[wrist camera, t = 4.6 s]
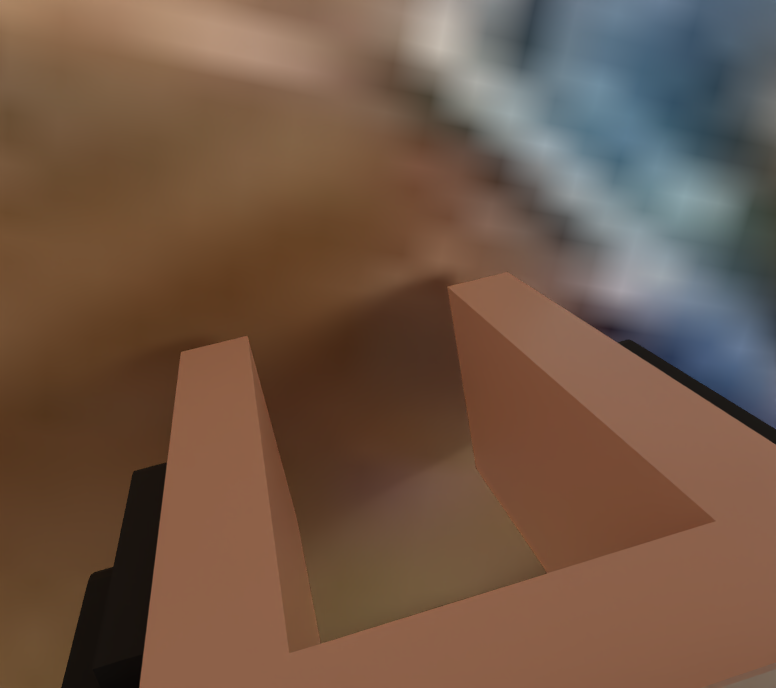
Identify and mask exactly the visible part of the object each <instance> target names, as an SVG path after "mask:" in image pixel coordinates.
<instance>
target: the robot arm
mask: <svg viewBox="0 0 776 688" xmlns="http://www.w3.org/2000/svg"><path fill="white" fill-rule="evenodd" d="M618 343H619V344H620V345H622V346H623V347H625V348H626V349H628V350H629V351H631V352H633V353H634V354H636V355H637V356H639V357H640V358H642V359H643V360H645V361H647V362H648V363H650V364H651V365H653V366H654V367H656V368H657V369H659V370H661V371H662V372H664V373H665V374H667V375H668V376H670V377H671V378H673V379H674V380H676V381H678V382H679V383H681V384H682V385H684V386H685V387H687V388H688V389H690V390H692V391H693V392H695V393H696V394H698V395H699V396H701V397H702V398H704V399H706V400H707V401H709V402H710V403H712V404H713V405H715V406H716V407H718V408H720V409H721V410H723V411H724V412H726V413H727V414H729V415H730V416H732V417H734V418H735V419H737V420H738V421H740V422H741V423H743V424H744V425H746V426H748V427H749V428H751V429H752V430H754V431H755V432H757V433H758V434H760V435H762V436H763V437H765V438H766V439H768V440H769V441H771V442H772V443H774V444H775V445H776V429H774V428H773V427H771V426H769V425H768V424H766V423H764V422H763V421H761V420H760V419H758V418H756V417H755V416H753V415H752V414H750V413H748V412H747V411H745V410H743V409H742V408H740V407H739V406H737V405H735V404H734V403H732V402H730V401H729V400H727V399H726V398H724V397H722V396H721V395H719V394H718V393H716V392H714V391H713V390H711V389H709V388H708V387H706V386H705V385H703V384H701V383H700V382H698V381H696V380H695V379H693V378H692V377H690V376H688V375H687V374H685V373H684V372H682V371H680V370H679V369H677V368H675V367H674V366H672V365H671V364H669V363H667V362H666V361H664V360H663V359H661V358H659V357H658V356H656V355H654V354H653V353H651V352H650V351H648V350H646V349H645V348H643V347H641V346H640V345H638V344H637V343H635V342H633V341H631V340H625V341H621V342H618ZM166 468H167V463H163V464H159V465H155V466H152V467H148V468H144V469H140V470H137V471H134V472H133V475H132V480H131V485H130V489H129V494H128V499H127V504H126V509H125V514H124V518H123V523H122V528H121V533H120V538H119V543H118V548H117V552H116V557H115V562H114V567H111V568H108V569H104V570H101V571H97V572H94V573H93V574H91V576H90V578H89V581H88V584H87V588H86V592H85V596H84V600H83V604H82V608H81V612H80V616H79V620H78V624H77V628H76V632H75V636H74V640H73V644H72V648H71V652H70V656H69V660H68V664H67V668H66V672H65V676H64V680H63V684H62V687H61V688H139V686H140V678H141V670H142V662H143V654H144V645H145V637H146V629H147V621H148V613H149V605H150V597H151V589H152V581H153V573H154V565H155V557H156V549H157V541H158V533H159V525H160V516H161V508H162V500H163V492H164V484H165V476H166ZM702 688H776V663H773V664H770V665H767V666H764V667H761V668H758V669H755V670H752V671H749V672H746V673H743V674H740V675H737V676H734V677H732V678H729V679H726V680H723V681H720V682H717V683H714V684H711V685H708V686H705V687H702Z"/></svg>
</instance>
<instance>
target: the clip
mask: <svg viewBox="0 0 776 688" xmlns="http://www.w3.org/2000/svg"><path fill="white" fill-rule="evenodd" d="M447 288H448V294H449V300H450V307H451V313H452V319H453V326H454V332H455V338H456V345H457V351H458V357H459V364H460V370H461V376H462V383H463V389H464V396H465V402H466V408H467V415H468V421H469V427H470V434H471V440H472V446H473V453H474V459H475V465H476V469H477V470H478V472H479V473H480V475H481V476H482V478H483V479H484V481H485V482H486V484H487V485H488V487H489V488H490V489H491V491H492V492H493V494H494V495H495V497H496V498H497V500H498V501H499V503H500V504H501V506H502V507H503V509H504V510H505V512H506V513H507V514H508V516H509V517H510V519H511V520H512V522H513V523H514V525H515V526H516V528H517V529H518V531H519V532H520V534H521V535H522V537H523V538H524V539H525V541H526V542H527V544H528V545H529V547H530V548H531V550H532V551H533V553H534V554H535V556H536V557H537V559H538V560H539V562H540V563H541V564H542V566H543V567H544V569H545V570H546V572H547V574H544V575H541V576H537V577H534V578H531V579H528V580H524V581H521V582H518V583H515V584H512V585H508V586H505V587H502V588H499V589H495V590H492V591H489V592H486V593H483V594H479V595H476V596H473V597H470V598H466V599H463V600H460V601H457V602H453V603H450V604H447V605H444V606H441V607H437V608H434V609H431V610H428V611H424V612H421V613H418V614H415V615H412V616H408V617H405V618H402V619H399V620H395V621H392V622H389V623H386V624H383V625H379V626H376V627H373V628H370V629H366V630H363V631H360V632H357V633H353V634H350V635H347V636H344V637H341V638H337V639H334V640H331V641H328V642H324V643H321V642H320V637H319V631H318V626H317V621H316V616H315V610H314V605H313V600H312V595H311V589H310V584H309V579H308V574H307V568H306V563H305V558H304V553H303V547H302V542H301V537H300V532H299V526H298V521H297V517H296V513H295V509H294V506H293V502H292V498H291V495H290V491H289V487H288V484H287V480H286V476H285V472H284V469H283V465H282V461H281V458H280V454H279V450H278V447H277V443H276V439H275V436H274V432H273V428H272V424H271V421H270V417H269V413H268V410H267V406H266V402H265V399H264V395H263V391H262V388H261V384H260V380H259V377H258V373H257V369H256V365H255V362H254V358H253V354H252V351H251V347H250V343H249V340H248V336H244V337H240V338H236V339H232V340H228V341H224V342H220V343H216V344H212V345H207V346H203V347H199V348H195V349H191V350H187V351H183V352H181V355H180V363H179V371H178V379H177V387H176V395H175V404H174V412H173V420H172V428H171V436H170V444H169V452H168V460H167V468H166V476H165V484H164V492H163V500H162V508H161V516H160V525H159V533H158V541H157V549H156V557H155V565H154V573H153V581H152V589H151V597H150V605H149V613H148V621H147V629H146V637H145V645H144V654H143V662H142V670H141V678H140V686H139V688H702V687H705V686H708V685H711V684H714V683H717V682H720V681H723V680H726V679H729V678H732V677H734V676H737V675H740V674H743V673H746V672H749V671H752V670H755V669H758V668H761V667H764V666H767V665H770V664H773V663H776V445H775V444H774V443H772V442H771V441H769V440H768V439H766V438H765V437H763V436H762V435H760V434H758V433H757V432H755V431H754V430H752V429H751V428H749V427H748V426H746V425H744V424H743V423H741V422H740V421H738V420H737V419H735V418H734V417H732V416H730V415H729V414H727V413H726V412H724V411H723V410H721V409H720V408H718V407H716V406H715V405H713V404H712V403H710V402H709V401H707V400H706V399H704V398H702V397H701V396H699V395H698V394H696V393H695V392H693V391H692V390H690V389H688V388H687V387H685V386H684V385H682V384H681V383H679V382H678V381H676V380H674V379H673V378H671V377H670V376H668V375H667V374H665V373H664V372H662V371H661V370H659V369H657V368H656V367H654V366H653V365H651V364H650V363H648V362H647V361H645V360H643V359H642V358H640V357H639V356H637V355H636V354H634V353H633V352H631V351H629V350H628V349H626V348H625V347H623V346H622V345H620V344H619V343H617V342H615V341H614V340H612V339H611V338H609V337H608V336H606V335H605V334H603V333H601V332H600V331H598V330H597V329H595V328H594V327H592V326H591V325H589V324H587V323H586V322H584V321H583V320H581V319H580V318H578V317H577V316H575V315H573V314H572V313H570V312H569V311H567V310H566V309H564V308H563V307H561V306H560V305H558V304H556V303H555V302H553V301H552V300H550V299H549V298H547V297H546V296H544V295H542V294H541V293H539V292H538V291H536V290H535V289H533V288H532V287H530V286H528V285H527V284H525V283H524V282H522V281H521V280H519V279H518V278H516V277H514V276H513V275H511V274H510V273H508V272H505V273H501V274H497V275H493V276H488V277H484V278H480V279H476V280H472V281H468V282H464V283H460V284H456V285H452V286H448V287H447Z"/></svg>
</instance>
